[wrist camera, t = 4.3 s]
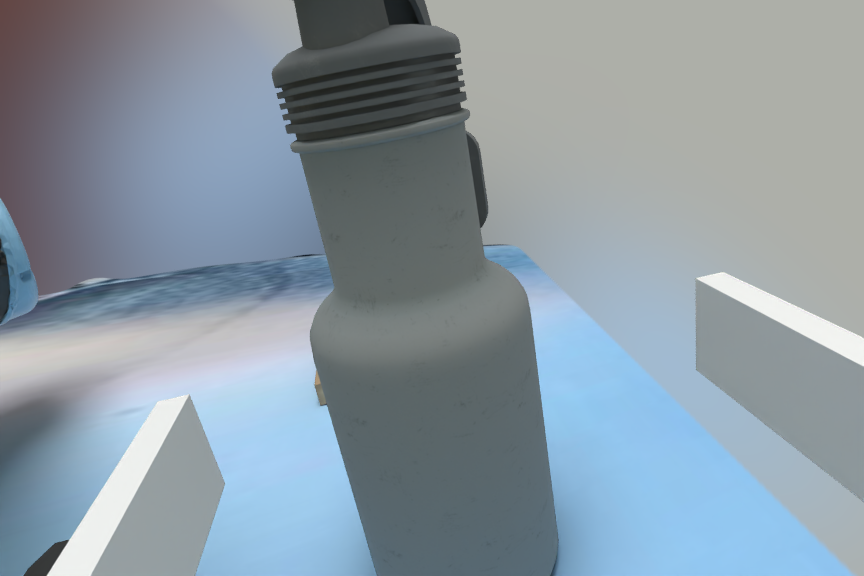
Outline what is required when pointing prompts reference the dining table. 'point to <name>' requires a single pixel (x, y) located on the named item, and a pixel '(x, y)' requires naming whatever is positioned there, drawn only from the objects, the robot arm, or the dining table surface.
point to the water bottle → (416, 300)
